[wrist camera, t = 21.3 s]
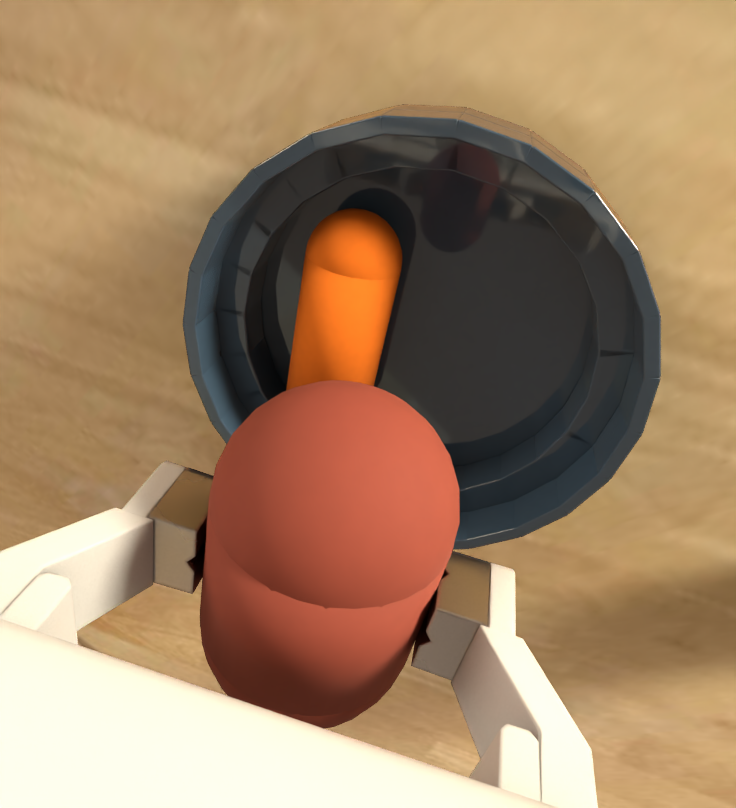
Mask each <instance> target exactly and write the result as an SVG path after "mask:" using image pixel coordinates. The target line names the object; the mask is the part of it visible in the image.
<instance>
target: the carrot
mask: <svg viewBox="0 0 736 808" xmlns="http://www.w3.org/2000/svg"><path fill="white" fill-rule="evenodd" d="M402 260H403V259H402V249H401V246H400V242H399V239H398V237H397V235H396V233H395V231H394V230H393V229H392V227H391V226H390V225H389V224H388V223H387V221H385V220H384V219H383V218H381V217H380V216H379V215H377V214H375V213H373V212H370V211H367V210H364V209H355V208H349V209H344V210H340V211H336V212H335V213H333V214H331V215H329V216H327V217H326V218H325V219H323V220H322V221H321V222H320V223H319V224H318V225H317V227H316V228H315V229H314V230H313V232H312V234H311V236H310V238H309V240H308V243H307V247H306V252H305V259H304V266H303V273H302V280H301V288H300V295H299V302H298V309H297V316H296V323H295V331H294V338H293V345H292V352H291V359H290V366H289V373H288V381H287V388H286V391H287V390H289V389H292V388H294V387H298V386H302V385H306V384H311V383H315V382H319V381H329V380H342V381H352V382H359V383H363V384H367V385H371V386H374V383H375V378H376V374H377V370H378V366H379V362H380V357H381V353H382V349H383V345H384V341H385V336H386V332H387V328H388V324H389V320H390V315H391V311H392V307H393V303H394V298H395V294H396V290H397V286H398V282H399V277H400V273H401V267H402Z"/></svg>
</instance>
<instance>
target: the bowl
mask: <svg viewBox="0 0 736 808" xmlns="http://www.w3.org/2000/svg"><path fill="white" fill-rule="evenodd" d="M349 208H355V209H364V210H367V211H370V212H373V213H375V214H377V215H379V216H380V217H381V218H383V219H384V220H385V221H387V223H388V224H389V225H390V226H391V227H392V229H393V230H394V231H395V233H396V235H397V237H398V239H399V242H400V246H401V249H402V259H403V260H402V267H401V273H400V277H399V282H398V286H397V290H396V294H395V298H394V303H393V307H392V311H391V315H390V320H389V324H388V328H387V332H386V336H385V341H384V345H383V349H382V353H381V357H380V362H379V366H378V370H377V374H376V378H375V383H374V387H377V388H380V389H383V390H385V391H387V392H389V393H391V394H393V395H395V396H397V397H399V398H400V399H402V400H403V401H405V402H406V403H407V404H409V405H410V406H411V407H412V408H413V409H415V410H416V411H417V412H418V413H419V414H420V415H422V416H423V417H424V418H425V419H426V420H427V421H428V422H429V424H430V425H431V426H432V427H433V428H434V429H435V431H436V433H437V434H438V436H439V438H440V439H441V441H442V443H443V444H444V446H445V448H446V450H447V451H448V453H449V455H450V457H451V460H452V464H453V467H454V471H455V474H456V478H457V482H458V485H459V502H460V523H459V527H458V531H457V534H456V538H455V542H454V547H453V549H469V548H470V549H471V548H476V547H480V546H485V545H489V544H493V543H498V542H502V541H507V540H511V539H515V538H519V537H523V536H525V535H527V534H529V533H531V532H533V531H535V530H537V529H539V528H541V527H543V526H546V525H548V524H550V523H552V522H554V521H556V520H558V519H560V518H562V517H564V516H567V515H568V514H569V513H571V512H572V511H573V510H574V509H576V508H577V507H578V506H579V505H580V504H582V503H583V502H584V501H585V500H586V499H588V498H589V497H590V496H591V495H593V494H594V493H595V492H596V491H597V490H599V489H600V488H601V487H602V486H604V485H605V484H606V483H607V482H608V481H609V480H610V479H611V478H612V477H613V475H614V474H615V472H616V471H617V470H618V468H619V467H620V465H621V464H622V462H623V461H624V460H625V458H626V457H627V455H628V454H629V452H630V451H631V450H632V448H633V447H634V445H635V444H636V442H637V441H638V440H639V438H640V437H641V435H642V433H643V431H644V428H645V425H646V422H647V419H648V416H649V412H650V409H651V406H652V403H653V400H654V397H655V394H656V391H657V388H658V385H659V382H660V376H661V316H660V311H659V308H658V305H657V302H656V299H655V296H654V293H653V290H652V287H651V284H650V281H649V278H648V275H647V272H646V269H645V266H644V263H643V259H642V256H641V253H640V251H639V249H638V247H637V246H636V244H635V242H634V240H633V239H632V237H631V235H630V234H629V232H628V230H627V228H626V227H625V225H624V223H623V222H622V220H621V218H620V217H619V216H618V214H617V213H616V212H615V210H614V209H613V207H612V206H611V205H610V203H609V202H608V201H607V199H606V198H605V197H604V195H603V194H602V192H601V191H600V190H599V188H598V187H597V186H596V184H595V183H594V182H593V180H592V179H591V177H590V176H589V175H588V173H587V172H586V171H585V169H583V168H582V167H581V166H580V165H578V164H577V163H576V162H574V161H573V160H572V159H570V158H569V157H567V156H566V155H565V154H563V153H562V152H561V151H559V150H558V149H557V148H555V147H554V146H553V145H551V144H550V143H548V142H547V141H546V140H544V139H543V138H542V137H540V136H539V135H538V134H536V133H535V132H534V131H530V129H528V128H525V127H523V126H520V125H517V124H514V123H511V122H508V121H505V120H503V119H500V118H497V117H494V116H491V115H488V114H486V113H483V112H480V111H477V110H474V109H471V108H467V107H454V106H431V105H409V104H402V105H397V106H393V107H389V108H385V109H381V110H377V111H373V112H369V113H365V114H361V115H358V116H354V117H350V118H346V119H342V120H340V121H337V122H335V123H333V124H330V125H328V126H326V127H323V128H321V129H319V130H316V131H314V132H312V133H310V134H308V135H306V136H304V137H303V138H301V139H299V140H298V141H296V142H295V143H293V144H291V145H290V146H288V147H286V148H285V149H283V150H282V151H280V152H278V153H277V154H275V155H273V156H272V157H270V158H268V159H267V160H265V161H264V162H262V163H260V164H259V165H257V166H255V167H254V168H253V169H252V170H251V171H250V172H249V173H248V174H247V175H246V176H245V178H244V179H243V180H242V181H241V182H240V183H239V184H238V186H237V187H236V188H235V189H234V190H233V191H232V193H231V194H230V195H229V196H228V197H227V198H226V200H225V201H224V202H223V203H222V204H221V205H220V207H219V208H218V209H217V210H216V211H215V212H214V213H213V215H212V217H211V218H210V221H209V223H208V225H207V228H206V230H205V232H204V235H203V237H202V239H201V242H200V244H199V246H198V249H197V251H196V253H195V256H194V258H193V260H192V262H191V265H190V267H189V273H188V282H187V290H186V299H185V308H184V316H183V330H184V336H185V342H186V349H187V355H188V361H189V368H190V374H191V377H192V379H193V381H194V384H195V386H196V388H197V391H198V393H199V396H200V398H201V400H202V403H203V405H204V407H205V410H206V412H207V414H208V417H209V419H210V421H211V422H212V425H213V426H214V427H215V429H216V430H217V432H218V433H219V434H220V436H221V437H222V438H223V440H224V441H225V443H226V444H227V443H228V441H229V440H230V438H231V436H232V434H233V433H234V432H235V431H236V429H237V428H238V427H239V426H240V425H241V424H242V423H243V422H244V421H245V420H246V419H247V418H248V417H249V415H250V414H251V413H252V412H253V411H254V410H255V409H256V408H258V407H260V406H261V405H263V404H264V403H266V402H267V401H269V400H270V399H272V398H274V397H275V396H277V395H279V394H280V393H282V392H284V391H286V388H287V381H288V373H289V366H290V359H291V352H292V345H293V338H294V331H295V323H296V316H297V309H298V302H299V295H300V288H301V280H302V273H303V266H304V259H305V252H306V247H307V243H308V240H309V238H310V236H311V234H312V232H313V230H314V229H315V228H316V227H317V225H318V224H319V223H320V222H321V221H322V220H323V219H325V218H326V217H327V216H329V215H331V214H333V213H335V212H336V211H340V210H344V209H349Z"/></svg>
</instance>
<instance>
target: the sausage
mask: <svg viewBox="0 0 736 808" xmlns="http://www.w3.org/2000/svg"><path fill="white" fill-rule="evenodd" d="M459 523H460V502H459V485H458V482H457V478H456V474H455V471H454V467H453V464H452V460H451V457H450V455H449V453H448V451H447V450H446V448H445V446H444V444H443V443H442V441H441V439H440V438H439V436H438V434H437V433H436V431H435V429H434V428H433V427H432V426H431V425H430V424H429V422H428V421H427V420H426V419H425V418H424V417H423V416H422V415H420V414H419V413H418V412H417V411H416V410H415V409H413V408H412V407H411V406H410V405H409V404H407V403H406V402H405V401H403V400H402V399H400V398H399V397H397V396H395V395H393V394H391V393H389V392H387V391H385V390H383V389H380V388H377V387H374V386H371V385H367V384H363V383H359V382H352V381H342V380H329V381H319V382H315V383H311V384H306V385H302V386H298V387H294V388H292V389H289V390H287V391H284V392H282V393H280V394H279V395H277V396H275V397H274V398H272V399H270V400H269V401H267V402H266V403H264V404H263V405H261V406H260V407H258V408H256V409H255V410H254V411H253V412H252V413H251V414H250V415H249V417H248V418H247V419H246V420H245V421H244V422H243V423H242V424H241V425H240V426H239V427H238V428H237V429H236V431H235V432H234V433H233V434H232V436H231V438H230V440H229V441H228V443H227V445H226V447H225V449H224V451H223V453H222V455H221V457H220V458H219V460H218V462H217V464H216V468H215V473H214V477H213V482H212V486H211V489H210V495H209V503H208V516H207V528H206V541H205V554H204V567H203V580H202V592H201V605H200V627H201V637H202V645H203V648H204V652H205V655H206V659H207V662H208V664H209V666H210V668H211V670H212V672H213V674H214V675H215V677H216V679H217V681H218V683H219V684H220V686H221V688H222V689H223V691H224V692H225V693H226V694H227V695H228V696H229V697H232V698H235V699H238V700H241V701H244V702H247V703H250V704H253V705H256V706H259V707H262V708H265V709H268V710H271V711H273V712H276V713H279V714H282V715H285V716H288V717H291V718H294V719H297V720H300V721H303V722H306V723H309V724H312V725H315V726H318V727H321V728H330V727H335V726H337V725H339V724H342V723H344V722H347V721H349V720H352V719H354V718H355V717H356V716H358V715H359V714H361V713H362V712H364V711H365V710H367V709H368V708H370V707H371V706H372V705H374V704H375V703H377V702H378V701H379V700H380V699H381V698H382V696H383V695H384V694H385V693H386V692H387V691H388V690H389V689H390V688H391V686H392V685H393V683H394V682H395V680H396V678H397V677H398V675H399V674H400V672H401V670H402V669H403V667H404V665H405V663H406V661H407V658H408V656H409V654H410V651H411V649H412V647H413V644H414V642H415V639H416V637H417V635H418V632H419V630H420V627H421V625H422V623H423V620H424V618H425V616H426V613H427V611H428V609H429V606H430V604H431V601H432V599H433V597H434V594H435V592H436V589H437V587H438V585H439V582H440V580H441V578H442V575H443V573H444V571H445V568H446V566H447V563H448V561H449V559H450V557H451V554H452V551H453V547H454V542H455V538H456V534H457V531H458V527H459Z"/></svg>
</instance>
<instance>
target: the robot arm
mask: <svg viewBox="0 0 736 808" xmlns="http://www.w3.org/2000/svg"><path fill="white" fill-rule="evenodd" d="M213 477H214V476H212V475H209V474H206V473H203V472H200V471H197V470H194V469H191V468H186V467H184V466H181V465H178V464H175V463H172V462H169V461H165V462H163V463H162V464H160V465H159V466H158V467H157V468H156V470H155V471H154V472H153V473H152V474H151V475H150V477H149V478H148V479H147V480H146V481H145V482H144V484H143V485H142V486H141V487H140V488H139V490H138V491H137V492H136V493H135V494H134V495H133V497H132V498H131V499H130V500H129V501H128V502H127V504H126V505H125V506H124V507H123V508H122V509H118V508H112V509H110V510H107V511H104V512H102V513H99V514H97V515H94V516H91V517H89V518H86V519H83V520H81V521H78V522H76V523H73V524H70V525H68V526H65V527H62V528H60V529H57V530H54V531H52V532H49V533H47V534H44V535H41V536H39V537H36V538H33V539H31V540H28V541H26V542H23V543H20V544H18V545H15V546H12V547H10V548H7V549H5V550H2V551H0V808H598V806H597V797H596V788H595V778H594V769H593V759H592V750H591V748H590V747H589V745H588V744H587V742H586V740H585V739H584V737H583V735H582V734H581V732H580V731H579V729H578V727H577V726H576V724H575V722H574V721H573V719H572V718H571V716H570V714H569V713H568V711H567V709H566V708H565V706H564V705H563V703H562V701H561V700H560V698H559V696H558V695H557V693H556V692H555V690H554V688H553V687H552V685H551V684H550V682H549V680H548V679H547V677H546V675H545V674H544V672H543V671H542V669H541V667H540V666H539V664H538V662H537V661H536V659H535V658H534V656H533V654H532V653H531V651H530V649H529V648H528V646H527V645H526V643H525V641H524V640H523V638H520V637H517V636H516V613H515V572H514V570H513V569H510V568H507V567H504V566H500V565H497V564H494V563H488V562H487V561H484V560H480V559H477V558H474V557H470V556H467V555H464V554H460V553H457V552H454V551H452V554H451V557H450V559H449V561H448V563H447V566H446V568H445V571H444V573H443V575H442V578H441V580H440V582H439V585H438V587H437V589H436V592H435V594H434V597H433V599H432V601H431V604H430V606H429V609H428V611H427V613H426V616H425V618H424V620H423V623H422V625H421V627H420V630H419V632H418V635H417V637H416V639H415V645H414V651H413V657H412V664H411V666H413V667H416V668H419V669H421V670H424V671H427V672H430V673H432V674H435V675H438V676H441V677H444V678H446V679H449V680H452V681H451V684H452V686H453V689H454V691H455V694H456V697H457V699H458V702H459V704H460V707H461V710H462V712H463V715H464V717H465V720H466V722H467V725H468V728H469V730H470V733H471V735H472V738H473V741H474V743H475V746H476V748H477V751H478V754H479V756H480V759H481V760H480V761H479V763H478V764H477V766H476V767H475V769H474V770H473V772H472V773H471V775H470V776H469V777H466V776H463V775H460V774H457V773H454V772H451V771H448V770H445V769H442V768H439V767H436V766H433V765H430V764H427V763H424V762H421V761H418V760H416V759H413V758H410V757H407V756H404V755H401V754H398V753H395V752H392V751H389V750H386V749H383V748H380V747H377V746H374V745H371V744H368V743H365V742H362V741H359V740H356V739H353V738H350V737H347V736H344V735H342V734H339V733H336V732H333V731H330V730H327V729H324V728H321V727H318V726H315V725H312V724H309V723H306V722H303V721H300V720H297V719H294V718H291V717H288V716H285V715H282V714H279V713H276V712H273V711H271V710H268V709H265V708H262V707H259V706H256V705H253V704H250V703H247V702H244V701H241V700H238V699H235V698H232V697H229V696H226V695H224V694H221V693H218V692H215V691H212V690H209V689H206V688H203V687H200V686H197V685H194V684H191V683H188V682H185V681H182V680H180V679H177V678H174V677H171V676H168V675H165V674H162V673H159V672H156V671H153V670H150V669H147V668H144V667H141V666H138V665H135V664H132V663H129V662H127V661H124V660H121V659H118V658H115V657H112V656H109V655H106V654H103V653H100V652H97V651H94V650H91V649H88V648H85V647H82V646H79V645H78V640H77V631H78V630H79V629H81V628H83V627H84V626H86V625H87V624H89V623H91V622H92V621H94V620H96V619H97V618H99V617H101V616H102V615H104V614H106V613H107V612H109V611H110V610H112V609H114V608H115V607H117V606H119V605H120V604H122V603H124V602H125V601H127V600H129V599H130V598H132V597H133V596H135V595H137V594H138V593H140V592H142V591H143V590H145V589H147V588H148V587H150V586H152V585H153V582H154V583H157V584H161V585H164V586H167V587H171V588H174V589H177V590H181V591H184V592H187V593H191V594H193V592H194V591H195V589H196V587H197V586H198V584H199V582H200V581H201V579H202V577H203V567H204V554H205V541H206V528H207V516H208V503H209V495H210V489H211V486H212V482H213Z"/></svg>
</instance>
